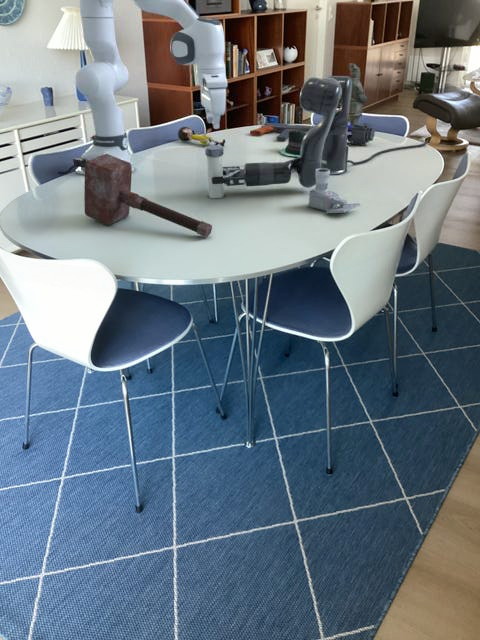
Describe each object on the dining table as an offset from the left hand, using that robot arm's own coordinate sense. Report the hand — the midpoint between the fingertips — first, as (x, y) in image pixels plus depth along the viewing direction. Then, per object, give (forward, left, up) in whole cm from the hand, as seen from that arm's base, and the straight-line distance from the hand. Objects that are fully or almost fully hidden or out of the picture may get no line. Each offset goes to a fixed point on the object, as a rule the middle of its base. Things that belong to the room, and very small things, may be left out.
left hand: (213, 125), depth 176 cm
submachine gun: (-1, +94, -23) cm, 97 cm away
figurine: (-34, +68, -23) cm, 79 cm away
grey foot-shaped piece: (+40, -4, -23) cm, 46 cm away
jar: (0, 0, -23) cm, 23 cm away
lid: (0, 0, -7) cm, 7 cm away
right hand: (-1, -1, -16) cm, 16 cm away
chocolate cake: (+15, +65, -23) cm, 70 cm away
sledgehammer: (-8, -33, -23) cm, 41 cm away
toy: (+34, +86, -23) cm, 95 cm away
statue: (+29, +112, -23) cm, 118 cm away
